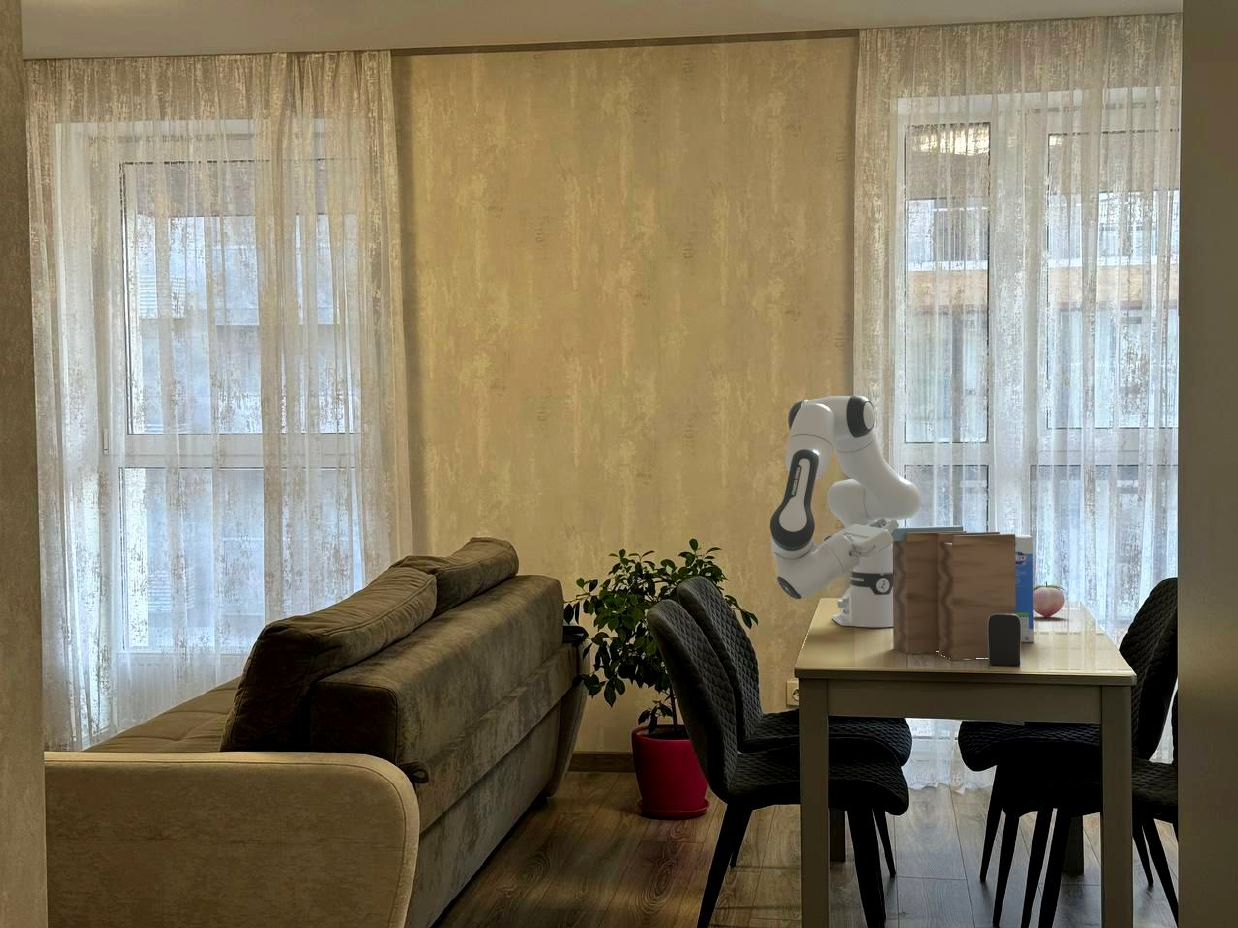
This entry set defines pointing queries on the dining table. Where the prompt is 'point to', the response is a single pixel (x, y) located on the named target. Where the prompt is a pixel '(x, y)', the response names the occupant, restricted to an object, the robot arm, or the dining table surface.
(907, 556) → the left post
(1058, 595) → the decorative fruit
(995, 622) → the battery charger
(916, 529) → the batten
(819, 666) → the dining table surface
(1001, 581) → the right post
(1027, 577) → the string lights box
